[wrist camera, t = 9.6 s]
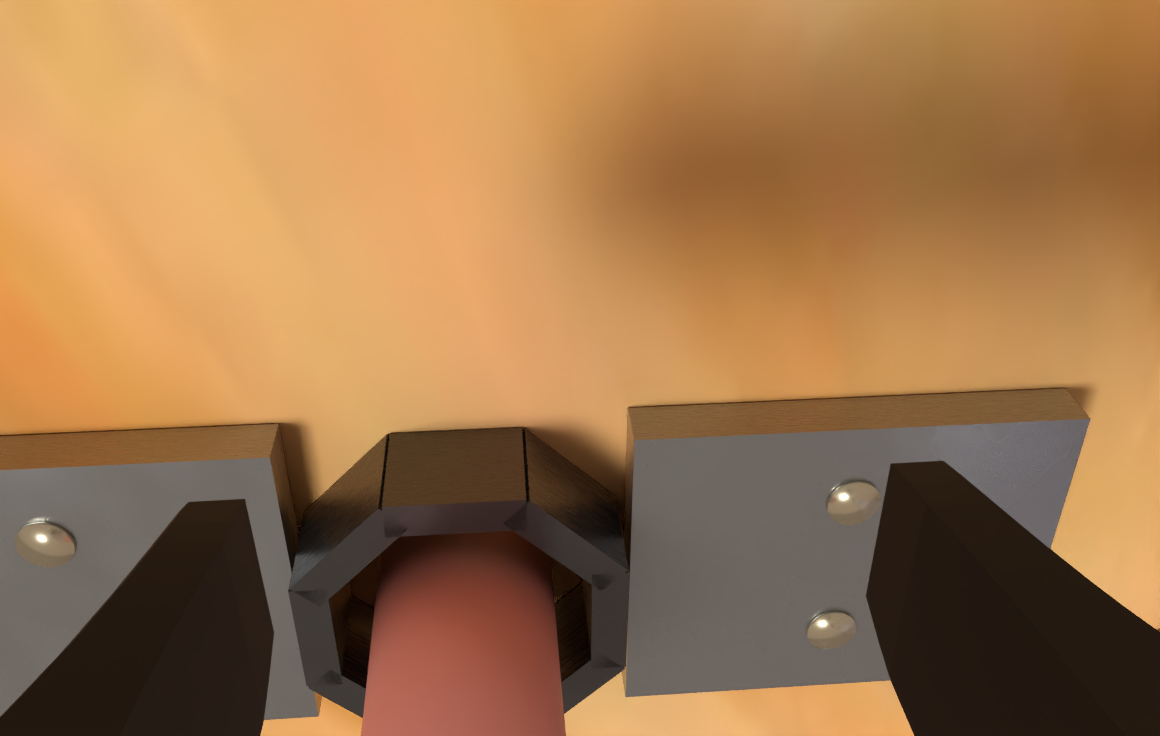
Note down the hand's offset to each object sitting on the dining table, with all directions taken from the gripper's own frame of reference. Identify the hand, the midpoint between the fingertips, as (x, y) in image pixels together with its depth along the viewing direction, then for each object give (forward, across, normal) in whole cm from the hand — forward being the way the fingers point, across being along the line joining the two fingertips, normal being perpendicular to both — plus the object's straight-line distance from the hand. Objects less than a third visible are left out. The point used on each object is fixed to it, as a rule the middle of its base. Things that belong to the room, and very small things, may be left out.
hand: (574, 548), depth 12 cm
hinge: (+10, +2, +9) cm, 14 cm away
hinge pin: (+10, +2, +9) cm, 14 cm away
